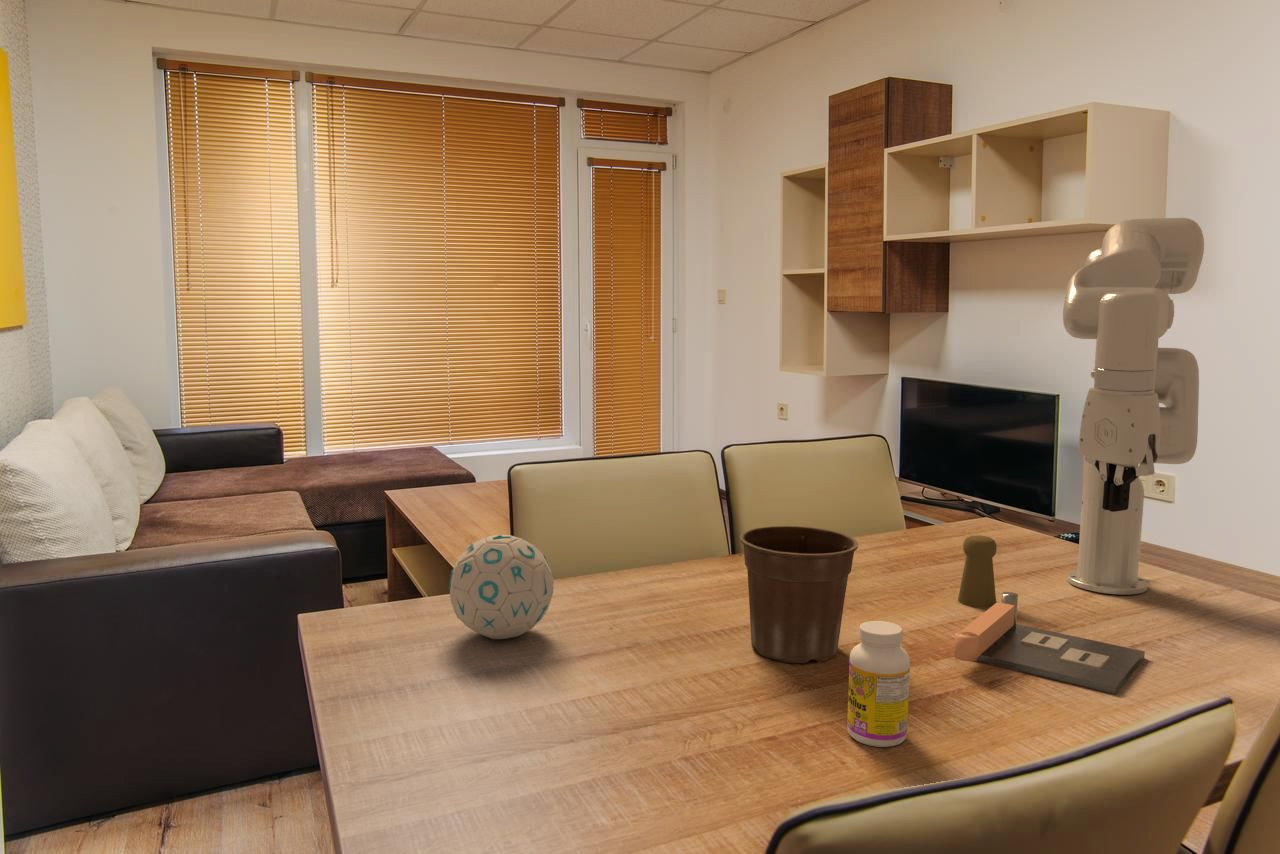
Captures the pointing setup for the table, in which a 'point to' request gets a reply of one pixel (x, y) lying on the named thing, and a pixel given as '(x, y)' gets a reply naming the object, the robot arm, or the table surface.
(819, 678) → the table surface
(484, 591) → the puzzle ball
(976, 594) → the cork
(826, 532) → the plant pot
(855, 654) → the supplement bottle
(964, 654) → the swing bar
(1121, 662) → the panel
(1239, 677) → the table surface
